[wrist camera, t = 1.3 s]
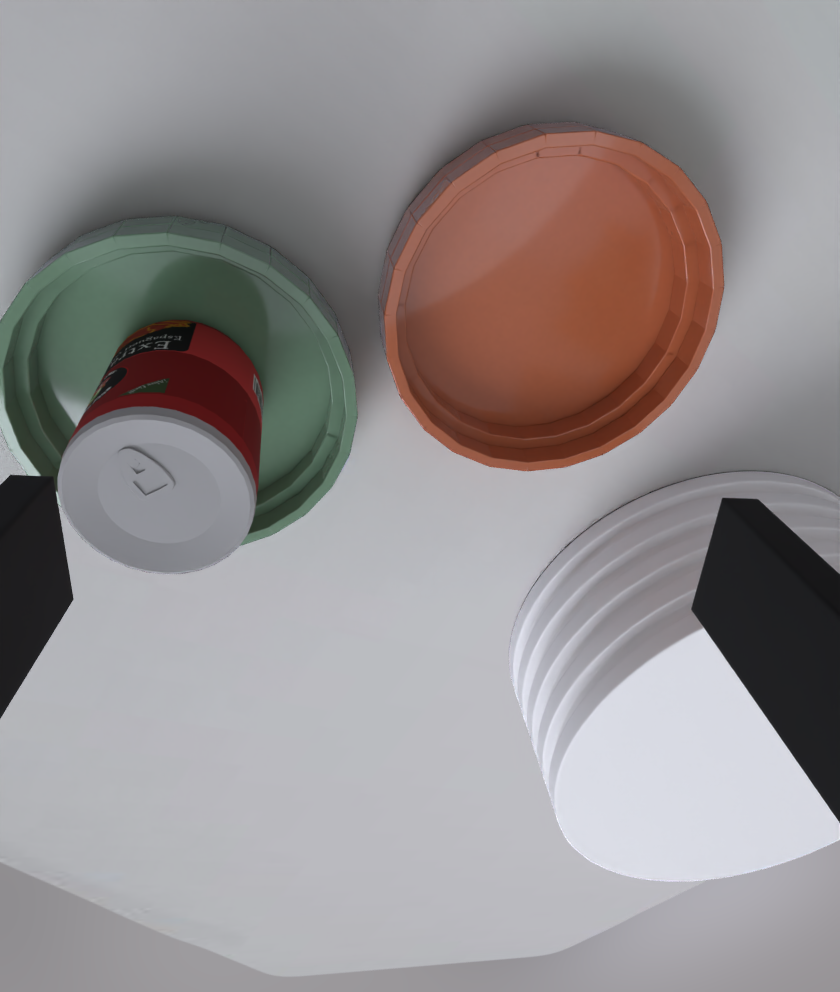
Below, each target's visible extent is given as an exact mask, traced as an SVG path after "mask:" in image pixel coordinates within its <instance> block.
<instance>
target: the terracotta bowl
mask: <svg viewBox="0 0 840 992" xmlns="http://www.w3.org/2000/svg"><path fill="white" fill-rule="evenodd" d="M723 290H724V274H723V256H722V244H721V240H720V237H719V234H718V231H717V228H716V226H715V223H714V220H713V217H712V214H711V212H710V209H709V206H708V203H707V202H706V200H705V199H704V197H703V196H702V195H701V193H700V192H699V191H698V190H697V188H696V187H695V186H694V184H693V183H692V182H691V180H690V179H689V178H688V177H687V175H686V174H685V173H684V171H683V170H682V169H681V168H680V167H679V166H678V165H676V164H675V163H673V162H672V161H670V160H669V159H667V158H666V157H664V156H663V155H661V154H660V153H658V152H656V151H655V150H653V149H652V148H650V147H649V146H647V145H646V144H644V143H642V142H640V141H637V140H635V139H632V138H630V137H627V136H624V135H621V134H619V133H616V132H612V131H608V130H605V129H601V128H597V127H593V126H589V125H585V124H581V123H577V122H559V123H541V124H528V125H524V126H521V127H518V128H515V129H512V130H510V131H507V132H504V133H501V134H499V135H496V136H493V137H490V138H487V139H485V140H482V141H480V142H478V143H477V144H476V145H474V146H473V147H471V148H470V149H468V150H467V151H466V152H464V153H463V154H461V155H460V156H458V157H457V158H456V159H454V160H453V161H451V162H450V163H448V164H447V165H446V166H444V167H443V168H441V169H440V171H438V173H437V174H436V175H435V176H434V177H433V178H432V180H431V181H430V182H429V183H428V184H427V185H426V187H425V188H424V189H423V190H422V191H421V193H420V194H419V195H418V196H417V197H416V198H415V200H414V201H413V202H412V203H411V204H410V205H409V207H408V209H407V210H406V212H405V214H404V216H403V218H402V220H401V222H400V224H399V226H398V228H397V231H396V233H395V235H394V237H393V239H392V241H391V243H390V245H389V247H388V249H387V252H386V257H385V262H384V267H383V272H382V277H381V282H380V287H379V292H378V304H379V320H380V335H381V340H382V343H383V347H384V351H385V354H386V358H387V361H388V364H389V367H390V370H391V373H392V375H393V378H394V381H395V384H396V387H397V389H398V392H399V395H400V397H401V399H402V400H403V402H404V403H405V405H406V406H407V407H408V409H409V410H410V411H411V413H412V414H413V416H414V417H415V418H416V420H417V421H418V422H419V424H420V425H421V427H422V428H423V429H424V430H425V431H426V432H428V433H429V434H430V435H432V436H433V437H434V438H435V439H437V440H438V441H439V442H441V443H442V444H443V445H445V446H446V447H447V448H448V449H450V450H451V451H452V452H454V453H457V454H459V455H462V456H464V457H467V458H469V459H472V460H474V461H477V462H479V463H482V464H484V465H487V466H490V467H497V468H505V469H512V470H520V471H535V470H544V469H553V468H563V467H568V466H571V465H574V464H577V463H580V462H583V461H586V460H589V459H592V458H594V457H597V456H600V455H603V454H605V453H607V452H609V451H610V450H612V449H614V448H615V447H617V446H619V445H620V444H622V443H624V442H626V441H627V440H629V439H631V438H632V437H634V436H636V435H638V434H639V433H641V432H642V431H643V430H644V429H645V428H646V427H647V426H648V425H650V424H651V423H652V422H653V421H654V420H655V419H656V418H657V417H659V416H660V415H661V414H662V413H663V412H664V411H665V410H666V409H667V408H669V407H670V406H671V404H672V403H673V402H674V401H675V399H676V398H677V397H678V395H679V394H680V393H681V391H682V390H683V389H684V387H685V386H686V385H687V383H688V382H689V381H690V379H691V378H692V377H693V375H694V374H695V372H696V371H697V369H698V368H699V365H700V363H701V361H702V359H703V357H704V354H705V352H706V350H707V348H708V346H709V343H710V341H711V339H712V337H713V335H714V332H715V329H716V325H717V320H718V315H719V310H720V305H721V300H722V295H723Z"/></svg>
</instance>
